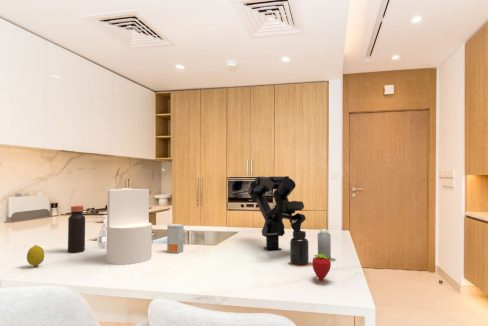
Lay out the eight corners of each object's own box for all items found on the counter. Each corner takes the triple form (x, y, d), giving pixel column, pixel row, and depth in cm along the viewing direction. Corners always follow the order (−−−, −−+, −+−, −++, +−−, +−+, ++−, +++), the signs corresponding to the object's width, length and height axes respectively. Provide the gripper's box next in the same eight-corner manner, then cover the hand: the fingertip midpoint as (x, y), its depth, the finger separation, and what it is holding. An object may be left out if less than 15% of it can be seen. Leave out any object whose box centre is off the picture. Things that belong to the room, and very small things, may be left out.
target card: (278, 261, 133) (278, 259, 133) (327, 257, 140) (327, 255, 140) (292, 269, 121) (292, 267, 121) (345, 264, 128) (345, 263, 128)
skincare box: (166, 252, 148) (166, 225, 148) (172, 250, 152) (172, 223, 152) (178, 253, 146) (178, 225, 146) (183, 251, 150) (183, 224, 150)
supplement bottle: (311, 265, 125) (311, 232, 125) (295, 266, 123) (294, 233, 123) (303, 260, 131) (303, 229, 132) (287, 261, 130) (287, 230, 130)
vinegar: (87, 249, 153) (88, 205, 154) (79, 253, 146) (79, 207, 147) (73, 249, 154) (74, 205, 154) (64, 253, 147) (65, 207, 147)
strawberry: (330, 277, 112) (329, 247, 112) (331, 285, 104) (331, 252, 104) (311, 276, 113) (311, 246, 113) (312, 284, 105) (312, 251, 106)
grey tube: (315, 258, 135) (315, 228, 136) (326, 257, 137) (326, 227, 137) (321, 261, 130) (321, 230, 131) (333, 260, 132) (332, 229, 132)
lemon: (25, 269, 121) (26, 247, 121) (27, 265, 126) (27, 244, 126) (43, 267, 124) (44, 245, 124) (44, 264, 129) (45, 243, 129)
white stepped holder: (98, 259, 136) (99, 189, 137) (137, 252, 149) (138, 188, 150) (119, 267, 124) (120, 191, 125) (159, 258, 137) (160, 189, 138)
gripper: (279, 188, 135) (289, 224, 126) (309, 197, 146) (320, 230, 137) (261, 201, 141) (269, 236, 132) (291, 208, 152) (301, 241, 144)
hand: (291, 235), depth 136 cm, fingers open, 9 cm apart
